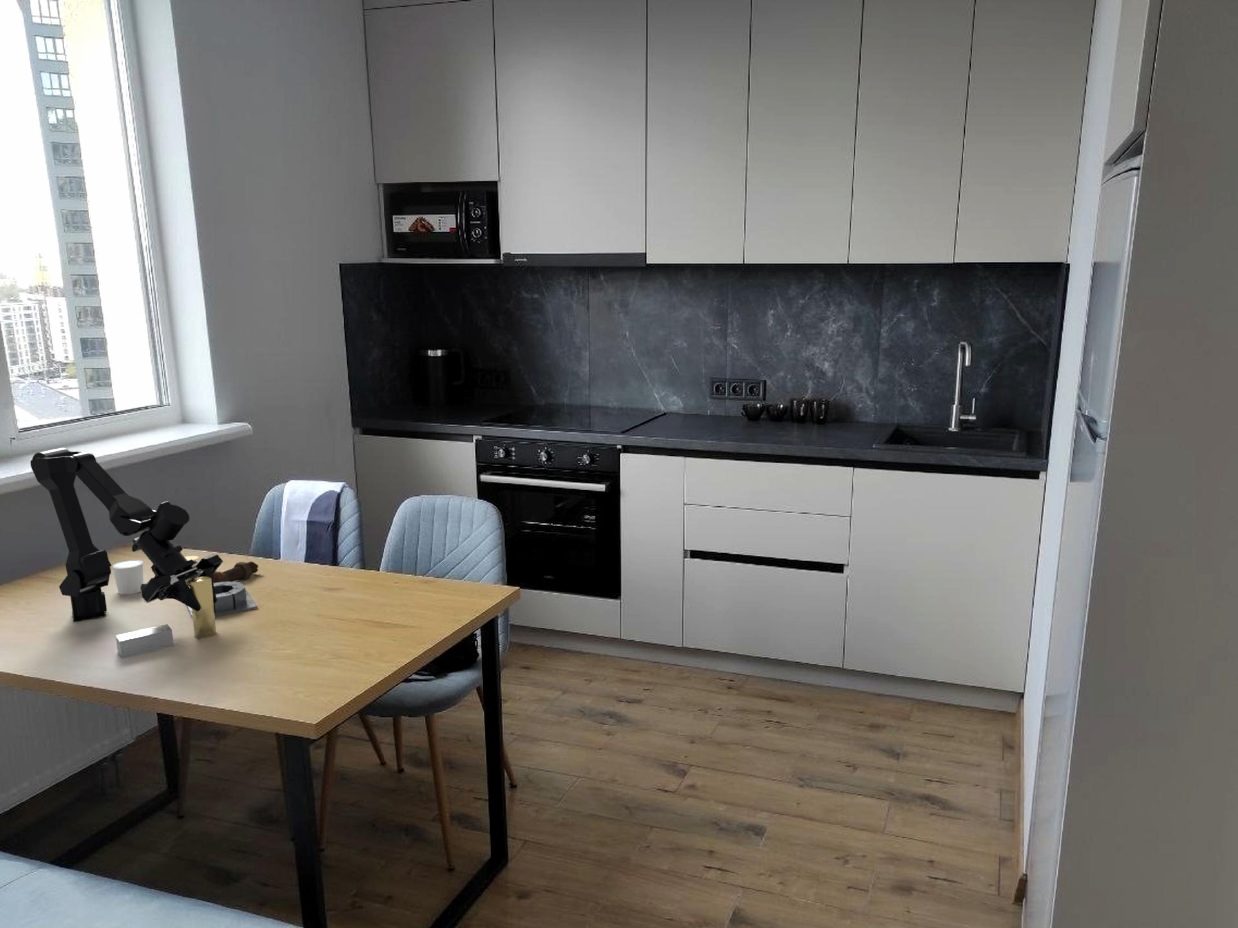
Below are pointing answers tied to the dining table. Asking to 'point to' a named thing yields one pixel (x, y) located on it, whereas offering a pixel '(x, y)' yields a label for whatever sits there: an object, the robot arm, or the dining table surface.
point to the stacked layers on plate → (193, 560)
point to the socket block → (231, 599)
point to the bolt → (236, 572)
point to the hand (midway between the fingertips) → (207, 606)
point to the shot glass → (128, 576)
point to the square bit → (144, 641)
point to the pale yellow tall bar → (203, 607)
